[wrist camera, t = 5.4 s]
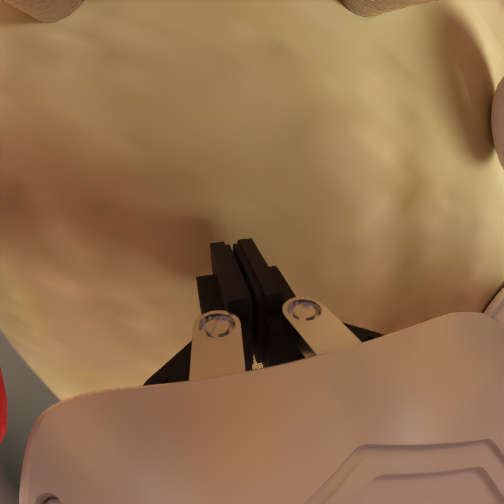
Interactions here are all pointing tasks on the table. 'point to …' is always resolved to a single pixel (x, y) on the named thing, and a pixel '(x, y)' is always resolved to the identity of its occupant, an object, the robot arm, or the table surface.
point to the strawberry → (2, 408)
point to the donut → (498, 121)
